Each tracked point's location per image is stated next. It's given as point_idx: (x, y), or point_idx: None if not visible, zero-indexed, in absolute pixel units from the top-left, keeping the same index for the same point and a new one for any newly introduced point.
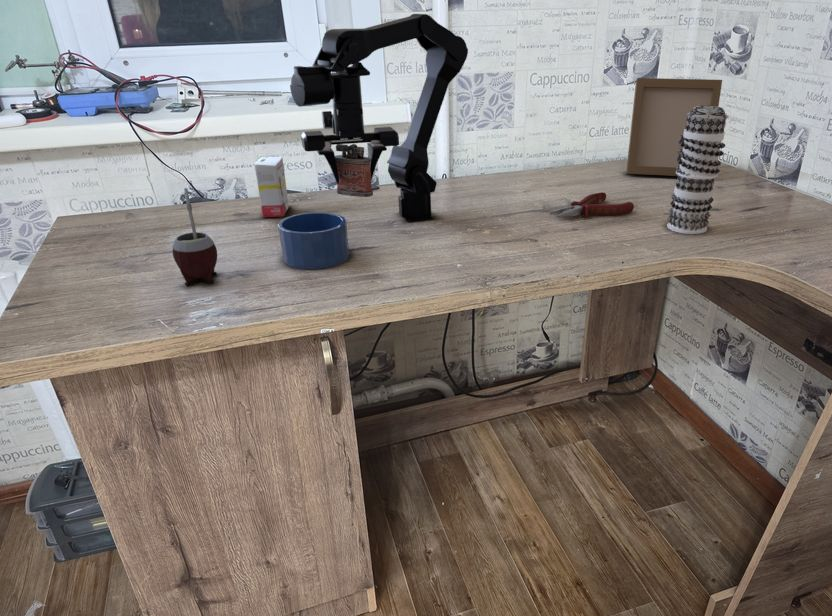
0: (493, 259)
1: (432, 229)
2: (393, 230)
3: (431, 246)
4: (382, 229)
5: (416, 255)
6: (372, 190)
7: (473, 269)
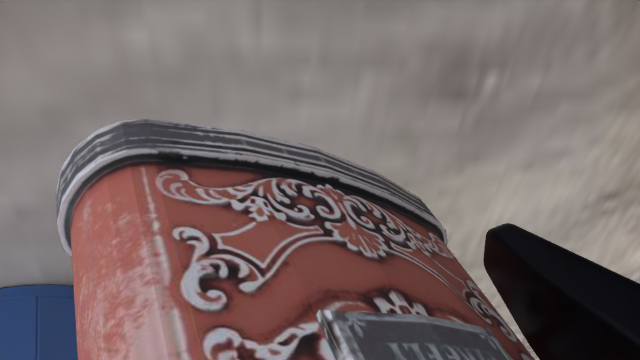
0: None
1: (593, 35)
2: (410, 43)
3: None
4: (352, 22)
5: None
6: (445, 241)
7: (533, 353)
